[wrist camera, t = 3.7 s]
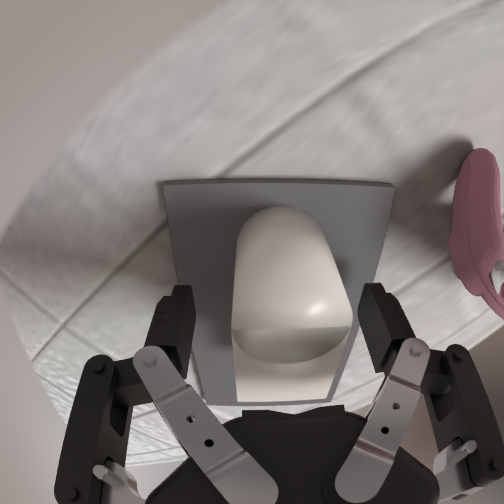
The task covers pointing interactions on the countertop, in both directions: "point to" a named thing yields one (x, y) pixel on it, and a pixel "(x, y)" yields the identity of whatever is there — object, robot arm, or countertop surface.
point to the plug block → (286, 308)
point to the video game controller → (479, 229)
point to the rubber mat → (224, 255)
